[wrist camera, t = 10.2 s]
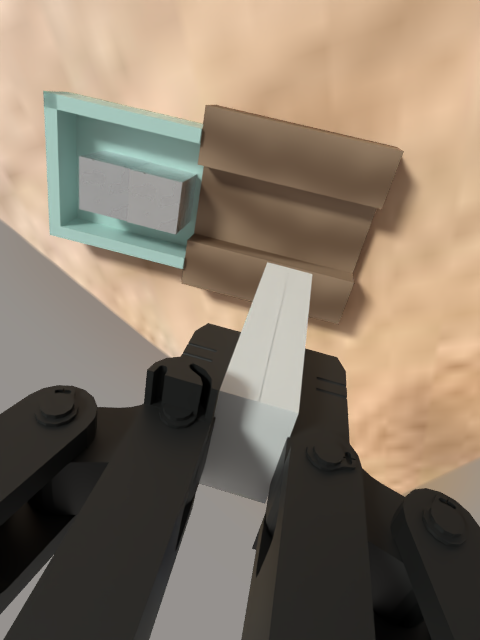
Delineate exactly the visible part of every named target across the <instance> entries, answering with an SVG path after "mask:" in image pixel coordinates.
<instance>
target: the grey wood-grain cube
mask: <svg viewBox="0 0 480 640" xmlns="http://www.w3.org/2000/svg"><path fill="white" fill-rule="evenodd" d="M196 178H197V174H195V173H191V172H187V171H183V170H179V169H175V168H171V167H167V166H163V165H159V164H155V163H151V162H150V163H147V164H144V165H142V166H139V167H136V168H133V169H130V183H129V200H128V217H127V222H129V223H133V224H137V225H141V226H145V227H148V228H152V229H156V230H160V231H164V232H168V233H172V234H177V233H178V232H179V231H180V230H181V229H183V228H184V227H185V226H186V225H187V224H188V223H189V222H190V221H191V213H192V206H193V199H194V192H195V185H196Z"/></svg>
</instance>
